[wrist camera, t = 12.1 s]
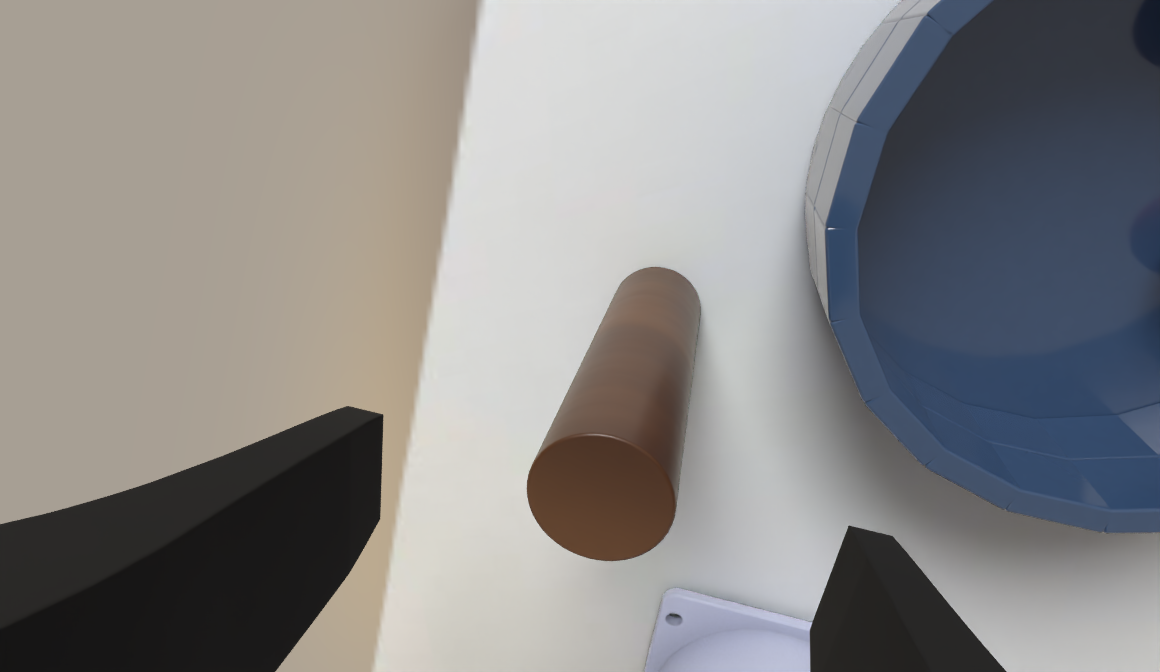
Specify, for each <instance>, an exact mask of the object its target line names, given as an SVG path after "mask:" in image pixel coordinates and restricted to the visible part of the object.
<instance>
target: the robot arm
mask: <svg viewBox="0 0 1160 672" xmlns="http://www.w3.org/2000/svg"><path fill="white" fill-rule="evenodd" d="M382 441H383V414H378V413H375V412H370V411H366V410H362V409H358V408H354V407H349V406H347V407H344V408H340V409H337V410H335V411H332V412H329V413H327V414H324V415H321V416H319V417H316V418H314V419H311V420H309V421H307V422H304V423H302V424H299V425H297V426H294V427H292V428H290V429H287V430H285V431H283V432H280V433H278V434H276V435H273V436H271V437H268V438H266V439H263V440H261V441H258V442H256V443H254V444H251V445H248V446H246V447H244V448H241V449H239V450H236V451H234V452H231V453H229V454H226V455H224V456H221V457H219V458H216V459H213V460H210V461H208V462H205V463H202V464H200V465H197V466H194V467H191V468H189V469H186V470H183V471H181V472H178V473H175V474H173V475H170V476H167V477H164V478H162V479H159V480H156V481H154V482H151V483H148V484H145V485H142V486H139V487H136V488H133V489H129V490H126V491H123V492H120V493H117V494H114V495H110V496H107V497H104V498H100V499H97V500H93V501H90V502H87V503H83V504H80V505H76V506H73V507H69V508H66V509H62V510H58V511H54V512H51V513H47V514H43V515H39V516H34V517H30V518H25V519H21V520H17V521H13V522H8V523H4V524H0V672H275V671H276V670H277V669H278V667H279V666H280V665H281V663H282V662H283V661H284V659H285V658H286V657H287V655H288V654H289V653H290V652H291V650H292V649H293V647H294V646H295V645H296V644H297V642H298V641H299V640H300V638H301V637H302V636H303V634H304V633H305V632H306V630H307V629H308V628H309V627H310V625H311V624H312V623H313V621H314V620H315V618H316V617H317V616H318V615H319V613H320V612H321V611H322V609H323V608H324V607H325V605H326V604H327V602H328V601H329V600H330V599H331V597H332V596H333V595H334V593H335V592H336V591H337V589H338V588H339V587H340V585H341V584H342V582H343V581H344V580H345V578H346V577H347V576H348V574H349V573H350V571H351V569H352V568H353V566H354V564H355V562H356V561H357V559H358V558H359V556H360V554H361V552H362V551H363V549H364V547H365V545H366V544H367V541H368V540H369V538H370V536H371V534H372V533H373V531H374V529H375V527H376V525H377V524H378V522H379V520H380V507H381V474H382ZM671 613H676V614H678V615H680V616H679V617H673V616H671V615H669V614H671ZM644 672H1006V671H1005V669H1004V668H1003V667H1002V666H1001V665H1000V664H999V663H998V662H997V660H996V659H995V658H994V657H993V656H992V655H991V653H990V652H989V651H988V650H987V649H986V648H985V647H984V645H983V644H982V643H981V642H980V641H979V640H978V638H977V637H976V636H975V635H974V634H973V632H972V631H971V630H970V629H969V628H968V627H967V625H966V624H965V623H964V622H963V620H962V619H961V618H960V617H959V616H958V614H957V613H956V612H955V611H954V610H953V608H952V607H951V606H950V605H949V604H948V602H947V601H946V600H945V599H944V597H943V596H942V595H941V594H940V593H939V591H938V590H937V589H936V588H935V586H934V585H933V584H932V583H931V581H930V580H929V579H928V578H927V577H926V575H925V574H924V573H923V572H922V570H921V569H920V568H919V567H918V566H917V564H916V563H915V562H914V561H913V559H912V558H911V557H910V556H909V555H908V553H907V552H906V551H905V550H904V549H903V548H902V546H901V545H900V544H899V543H898V542H897V541H896V540H895V538H894V537H893V536H890V535H886V534H882V533H877V532H873V531H869V530H865V529H861V528H856V527H852V526H848V529H847V532H846V534H845V537H844V540H843V542H842V545H841V548H840V550H839V553H838V556H837V558H836V561H835V564H834V566H833V569H832V572H831V574H830V577H829V580H828V582H827V585H826V588H825V591H824V593H823V596H822V599H821V601H820V604H819V607H818V609H817V612H816V615H815V617H814V620H813V622H809V621H805V620H801V619H797V618H793V617H789V616H785V615H782V614H778V613H774V612H770V611H766V610H762V609H758V608H754V607H751V606H747V605H743V604H739V603H735V602H731V601H727V600H723V599H720V598H716V597H712V596H708V595H704V594H700V593H696V592H692V591H689V590H685V589H681V588H672V589H669V590H667V591H666V592H665V593H664V594H663V596H662V600H661V604H660V608H659V612H658V616H657V620H656V624H655V628H654V632H653V636H652V640H651V644H650V648H649V652H648V656H647V660H646V664H645V668H644Z"/></svg>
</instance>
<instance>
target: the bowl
mask: <svg viewBox="0 0 1160 672" xmlns="http://www.w3.org/2000/svg"><path fill="white" fill-rule="evenodd" d="M805 194H806V202H805V222H806V237H807V246H808V250H809V266H810V269H811V273H812V276H813V279H814V282H815V285H816V288H817V290H818V293H819V296H820V299H821V302H822V305H823V307H824V310H825V313H826V316H827V319H828V321H829V324H830V327H831V329H832V331H833V334H834V336H835V339H836V341H837V343H838V346H839V348H840V350H841V353H842V355H843V357H844V360H845V362H846V364H847V367H848V369H849V371H850V374H851V376H852V378H853V381H854V383H855V385H856V388H857V390H858V392H859V395H860V397H861V400H862V401H864V403H865V406H866V407H867V408H868V409H869V410H870V411H871V412H872V413H873V414H874V415H875V416H876V417H877V418H878V419H879V420H880V421H881V423H882V424H883V425H884V426H885V427H886V428H887V429H888V430H889V431H890V432H891V433H892V434H893V435H894V436H895V437H896V438H897V439H898V441H899V442H900V443H901V444H902V445H903V446H904V447H905V448H906V449H907V450H908V451H909V452H910V453H911V454H912V455H913V456H914V458H915V459H916V460H917V461H918V462H919V463H920V464H922V465H924V466H925V468H927V469H929V470H931V471H932V472H934V473H936V474H938V475H940V476H942V477H943V478H945V479H947V480H949V481H951V482H953V483H955V484H956V485H958V486H960V487H962V488H964V489H966V490H967V491H969V492H971V493H973V494H975V495H977V496H978V497H980V498H982V499H984V500H986V501H988V502H989V503H991V504H993V505H995V506H997V507H999V508H1000V509H1003V510H1006V511H1008V512H1012V513H1016V514H1021V515H1025V516H1029V517H1034V518H1038V519H1042V520H1047V521H1051V522H1055V523H1060V524H1064V525H1069V526H1073V527H1077V528H1082V529H1086V530H1090V531H1095V532H1099V533H1102V532H1104V533H1160V0H902V1H901V2H900V3H899V4H898V5H897V6H896V7H895V8H894V9H893V10H892V11H891V12H890V13H889V14H888V15H887V16H886V18H885V19H884V20H883V21H882V23H881V24H880V25H879V26H878V28H877V29H876V30H875V31H874V33H873V34H872V35H871V36H870V37H869V39H868V40H867V41H866V42H865V44H864V45H863V46H862V48H861V49H860V51H859V53H858V54H857V56H856V57H855V59H854V60H853V62H852V64H851V65H850V67H849V68H848V70H847V71H846V73H845V74H844V76H843V78H842V79H841V81H840V84H839V86H838V88H837V90H836V92H835V94H834V96H833V98H832V100H831V102H830V104H829V106H828V108H827V110H826V112H825V115H824V118H823V121H822V124H821V127H820V130H819V133H818V136H817V139H816V142H815V145H814V148H813V153H812V158H811V163H810V168H809V173H808V177H807V186H806V193H805Z"/></svg>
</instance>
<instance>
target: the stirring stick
mask: <svg viewBox="0 0 1160 672" xmlns="http://www.w3.org/2000/svg"><path fill="white" fill-rule="evenodd" d="M700 311H701V307H700V301H699V297H698V295H697V292H696V290H695V289H694V287H693V286H692V284H691V283H690V282H689V281H688V280H687V279H686V278H685V277H683V276H682V275H681V274H679V273H677V272H675V271H673V270H670V269H666V268H661V267H651V268H645V269H641V270H639V271H636V272H634V273H632V274H631V275H630V276H628V277H627V278H626V279H625V280H624V281H623V282H622V283H621V284H620V286H619V288H618V289H617V291H616V293H615V295H614V297H613V299H612V301H611V304H610V306H609V308H608V310H607V312H606V314H605V316H604V318H603V320H602V322H601V324H600V326H599V328H598V330H597V332H596V334H595V336H594V339H593V341H592V343H591V345H590V347H589V349H588V351H587V353H586V355H585V357H584V359H583V361H582V363H581V365H580V367H579V369H578V371H577V373H576V376H575V378H574V380H573V382H572V384H571V386H570V388H569V390H568V392H567V394H566V396H565V398H564V400H563V402H562V404H561V406H560V408H559V411H558V413H557V415H556V417H555V419H554V421H553V423H552V425H551V427H550V429H549V431H548V433H547V435H546V437H545V439H544V441H543V443H542V446H541V448H540V450H539V452H538V454H537V456H536V458H535V460H534V462H533V464H532V466H531V469H530V471H529V475H528V480H527V497H528V501H529V505H530V508H531V511H532V513H533V516H534V517H535V519H536V521H537V523H538V524H539V525H540V527H541V528H542V529H543V531H544V532H545V533H546V534H547V535H548V536H549V537H550V538H551V539H553V540H554V541H555V542H556V543H558V544H559V545H560V546H562V547H563V548H565V549H567V550H569V551H571V552H573V553H575V554H577V555H580V556H583V557H586V558H590V559H595V560H602V561H619V560H626V559H630V558H634V557H637V556H640V555H642V554H644V553H646V552H648V551H650V550H651V549H652V548H654V547H655V546H656V545H657V544H659V543H660V542H661V541H662V540H663V539H664V537H665V536H666V535H667V533H668V532H669V530H670V528H671V526H672V524H673V521H674V518H675V513H676V506H677V498H678V490H679V481H680V473H681V465H682V457H683V449H684V441H685V433H686V425H687V417H688V409H689V401H690V393H691V385H692V377H693V369H694V361H695V353H696V345H697V337H698V329H699V321H700Z"/></svg>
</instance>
